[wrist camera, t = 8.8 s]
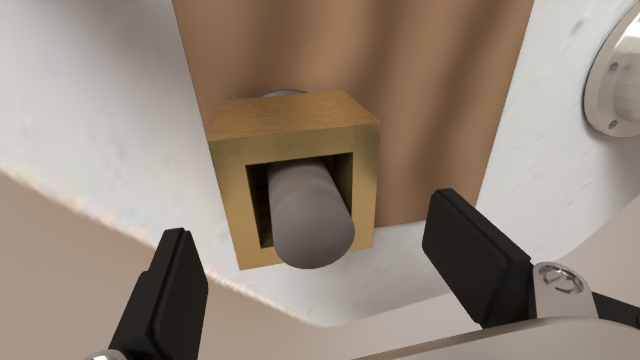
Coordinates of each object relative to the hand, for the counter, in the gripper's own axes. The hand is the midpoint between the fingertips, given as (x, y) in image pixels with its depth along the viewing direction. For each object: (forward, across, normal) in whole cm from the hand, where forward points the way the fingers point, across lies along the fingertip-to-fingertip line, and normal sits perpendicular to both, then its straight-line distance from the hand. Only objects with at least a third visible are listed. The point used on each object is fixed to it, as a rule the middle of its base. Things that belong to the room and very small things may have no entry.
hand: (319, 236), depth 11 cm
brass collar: (+8, 0, 0) cm, 8 cm away
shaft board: (+11, -5, 0) cm, 12 cm away
